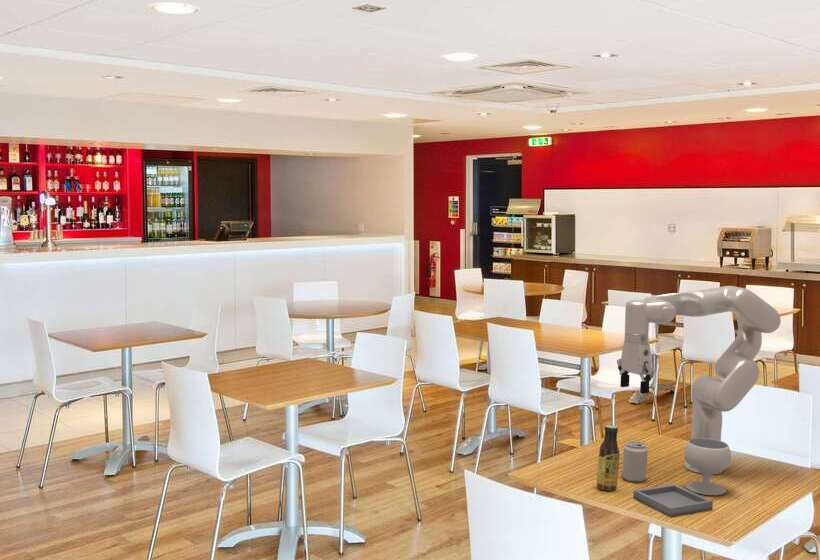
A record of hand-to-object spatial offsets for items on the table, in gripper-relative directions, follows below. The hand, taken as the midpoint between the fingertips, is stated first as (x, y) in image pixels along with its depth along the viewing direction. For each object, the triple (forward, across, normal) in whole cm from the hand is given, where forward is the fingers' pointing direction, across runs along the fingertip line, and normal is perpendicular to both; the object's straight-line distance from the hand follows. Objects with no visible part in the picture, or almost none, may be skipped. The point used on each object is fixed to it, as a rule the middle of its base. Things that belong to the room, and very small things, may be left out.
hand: (634, 389), depth 282 cm
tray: (+28, -28, +8) cm, 40 cm away
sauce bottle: (+28, -10, +18) cm, 34 cm away
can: (+28, -6, +4) cm, 29 cm away
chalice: (+28, -22, -11) cm, 38 cm away
